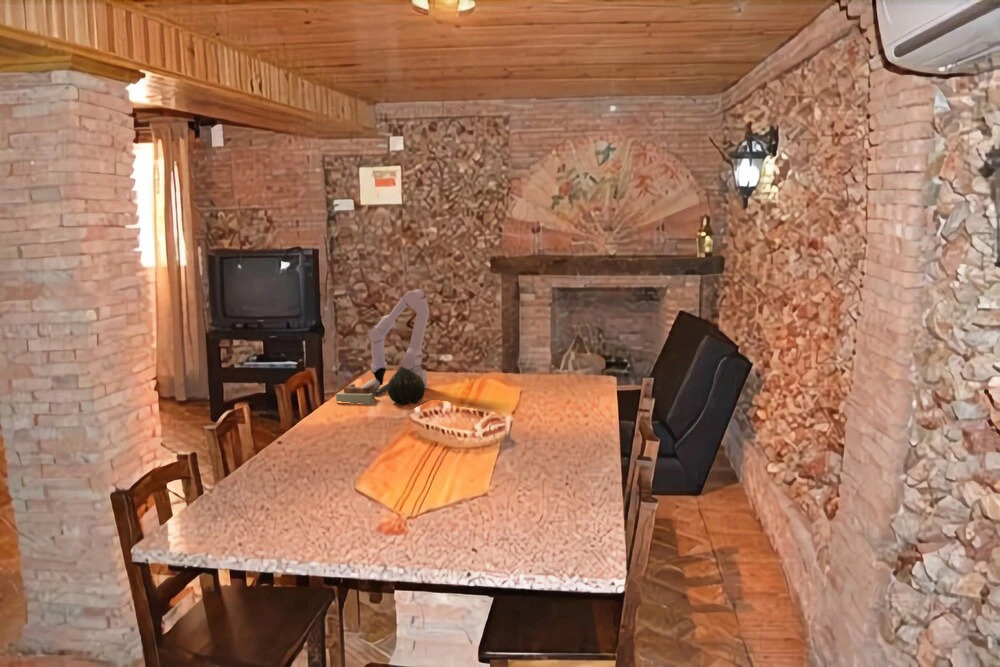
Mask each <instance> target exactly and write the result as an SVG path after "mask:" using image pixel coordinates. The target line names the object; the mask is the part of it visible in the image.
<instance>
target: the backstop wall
mask: <svg viewBox="0 0 1000 667" xmlns="http://www.w3.org/2000/svg"><path fill="white" fill-rule="evenodd" d="M335 396H336V397H335V401H341V402H350V403H362V404H361V405H372V404H374V399H373V393H344V392H337V393H336V394H335Z"/></svg>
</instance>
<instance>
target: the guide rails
mask: <svg viewBox="0 0 1000 667" xmlns="http://www.w3.org/2000/svg"><path fill="white" fill-rule="evenodd" d="M387 390H388V383H387V384H385V385H384V386H383V385H382V387H379V388H378V389H376V390H375V391H374V397H379V395H380V396H381V395H383V394H384V393H386V392H388V391H387ZM382 393H383V394H382Z"/></svg>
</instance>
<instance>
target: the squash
mask: <svg viewBox="0 0 1000 667" xmlns="http://www.w3.org/2000/svg"><path fill="white" fill-rule="evenodd" d="M387 384H388V391H387V394H388V396H389V398H390V400H391V401H392V402H394V403H395V404H397V405H402V404H405V403H407V402H408V403H411V404H418V403H419V402H420V401H421V400H422V399H423V398H424V397H425V396H424V395H425V391H426V389H425V385H424V382H423V380H422V379H421V377H420V376H418V375H417V374H415V373H414V372H412V371H410V370H408V369H406V368H403V366H402V367H401V368H399V369H398V370H397V371H396V372H395V373H394V374H393V375H392V376H391V378H390V379H389V381H388V383H387Z"/></svg>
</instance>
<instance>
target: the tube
mask: <svg viewBox="0 0 1000 667" xmlns="http://www.w3.org/2000/svg"><path fill="white" fill-rule="evenodd" d="M370 384H374V392H375V391H377V390H378V389H380V388H381V385H380V382H379V381H378V379H376V378H372V379H371V380H369V381H367V382H366V383H364V384H363V385H361V386H360V387H367V386H368V385H370Z"/></svg>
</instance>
